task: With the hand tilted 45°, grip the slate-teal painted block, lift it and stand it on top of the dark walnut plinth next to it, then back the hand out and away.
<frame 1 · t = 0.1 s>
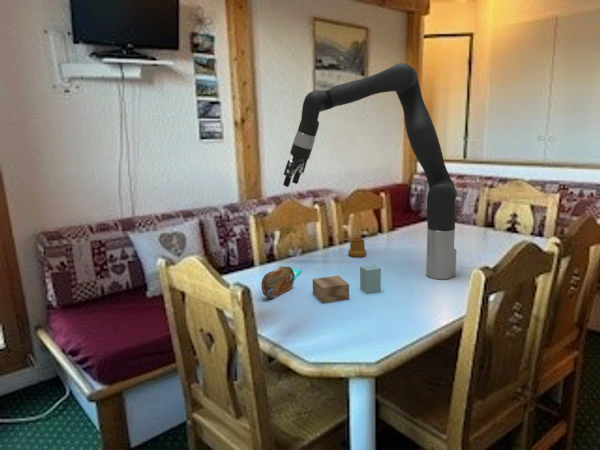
hand: (290, 184, 183), 31 cm above the table, tool tilted 20°, fingers open, 8 cm apart
ornamental finial: (357, 255, 197), on the table
tin: (278, 294, 156), on the table
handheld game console: (283, 279, 172), on the table
walnut plinth: (330, 296, 152), on the table
teal block: (370, 290, 156), on the table
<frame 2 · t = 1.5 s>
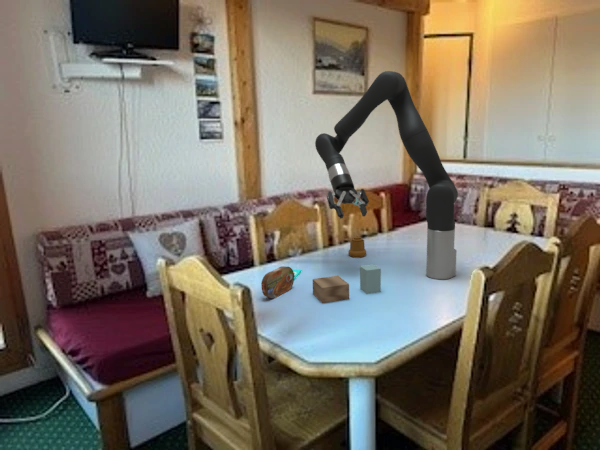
hand: (353, 216, 163), 23 cm above the table, tool tilted 45°, fingers open, 8 cm apart
nothing on the table moved.
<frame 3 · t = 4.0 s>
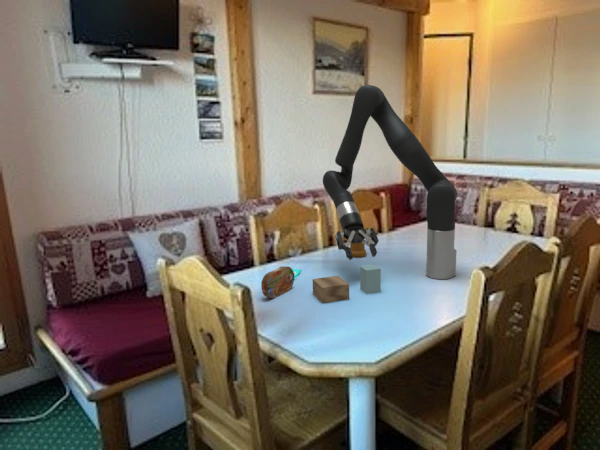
hand: (363, 257, 159), 10 cm above the table, tool tilted 45°, fingers open, 8 cm apart
nothing on the table moved.
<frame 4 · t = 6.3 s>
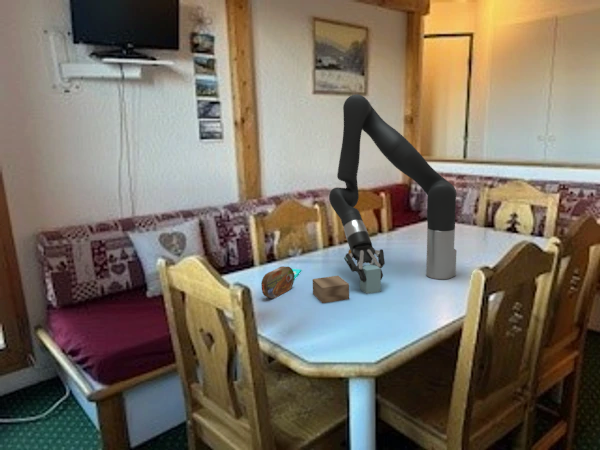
hand: (372, 279, 154), 4 cm above the table, tool tilted 45°, fingers closed on teal block, 5 cm apart
teal block: (370, 290, 156), on the table, touching gripper
everything else where it was.
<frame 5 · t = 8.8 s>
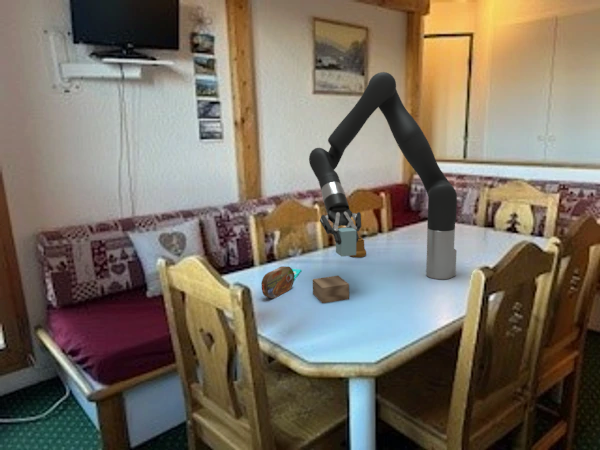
hand: (348, 242, 149), 18 cm above the table, tool tilted 45°, fingers closed on teal block, 5 cm apart
teal block: (345, 253, 152), point 13 cm above the table, touching gripper
everything else where it was.
when the fingers open (10 cm above the table, at t = 11.3 s): teal block stays where it is, resting on walnut plinth.
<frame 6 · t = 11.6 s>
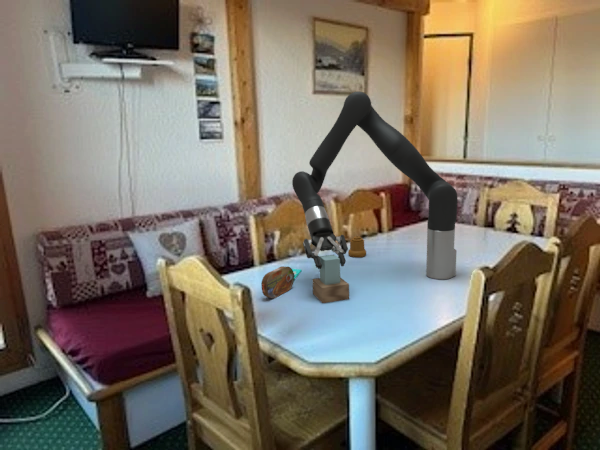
hand: (331, 266, 149), 10 cm above the table, tool tilted 45°, fingers open, 7 cm apart
teal block: (329, 281, 151), point 5 cm above the table, touching walnut plinth
everything else where it was.
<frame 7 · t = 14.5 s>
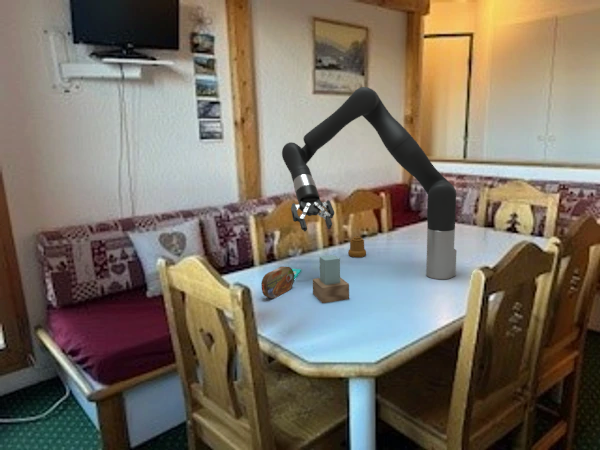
hand: (317, 228, 158), 20 cm above the table, tool tilted 45°, fingers open, 8 cm apart
nothing on the table moved.
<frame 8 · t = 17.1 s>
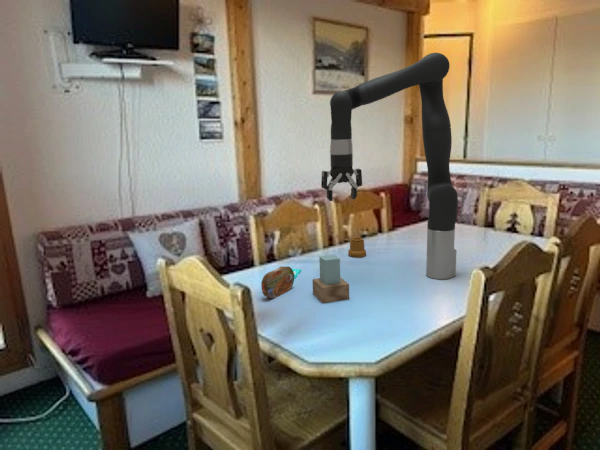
hand: (342, 199, 164), 28 cm above the table, tool pointing down, fingers open, 8 cm apart
nothing on the table moved.
at the end: teal block 0.1 cm off-centre on the walnut plinth, point 5.0 cm above the walnut plinth's base; teal block tilted 0°; the gripper is holding nothing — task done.
